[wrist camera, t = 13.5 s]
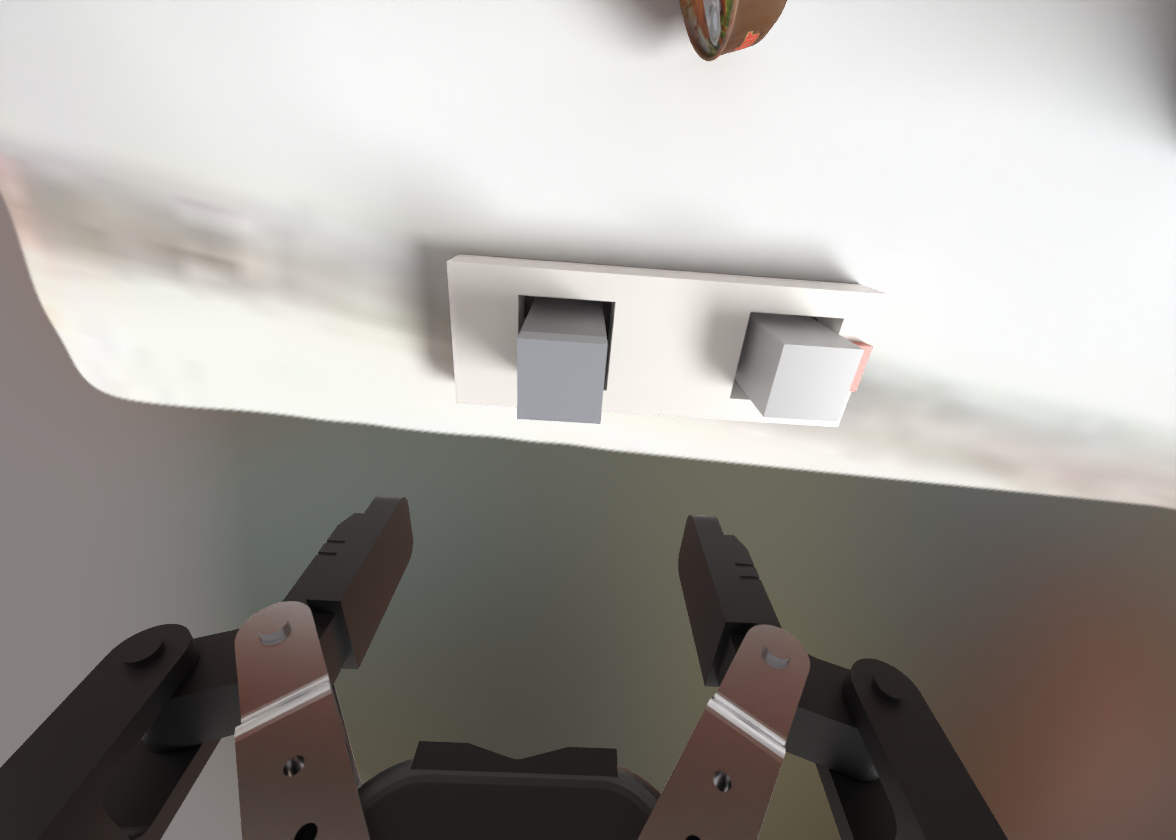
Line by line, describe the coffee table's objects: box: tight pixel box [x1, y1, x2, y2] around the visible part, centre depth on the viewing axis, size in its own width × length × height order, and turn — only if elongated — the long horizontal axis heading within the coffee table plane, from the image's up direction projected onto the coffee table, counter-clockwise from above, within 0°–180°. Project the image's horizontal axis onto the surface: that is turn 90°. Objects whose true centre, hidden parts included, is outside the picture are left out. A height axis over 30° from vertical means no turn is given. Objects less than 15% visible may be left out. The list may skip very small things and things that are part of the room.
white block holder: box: [446, 254, 888, 427], centre depth 29 cm, size 9×26×4 cm, turn 86°
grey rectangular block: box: [517, 297, 608, 424], centre depth 27 cm, size 4×4×9 cm
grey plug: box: [734, 312, 864, 422], centre depth 28 cm, size 4×4×7 cm
